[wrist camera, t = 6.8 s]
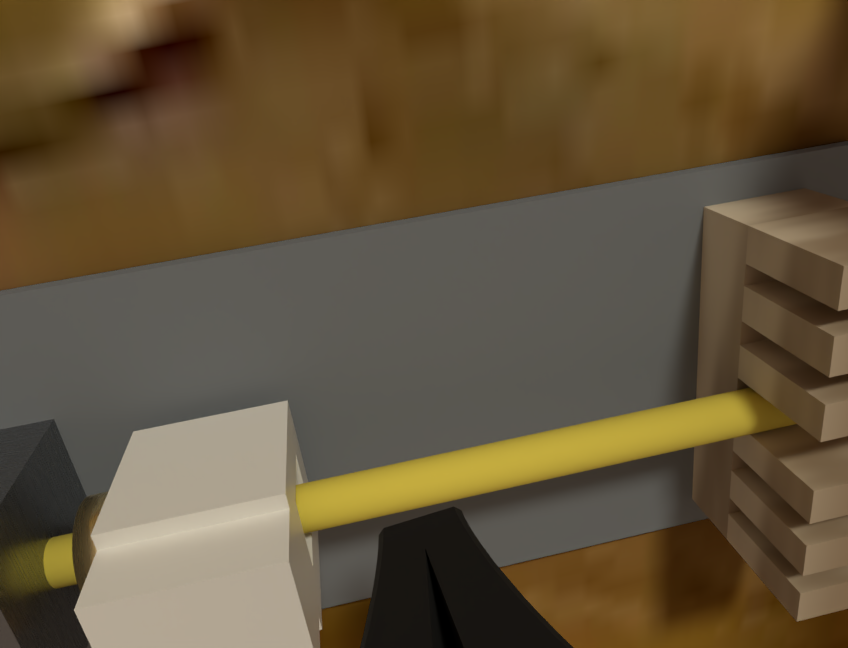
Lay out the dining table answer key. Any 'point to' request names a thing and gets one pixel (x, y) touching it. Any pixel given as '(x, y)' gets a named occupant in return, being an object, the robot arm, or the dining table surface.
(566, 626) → the dining table surface
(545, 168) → the dining table surface
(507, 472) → the yellow rod
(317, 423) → the cable mat
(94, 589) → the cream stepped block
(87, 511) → the block
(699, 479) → the cable comb
